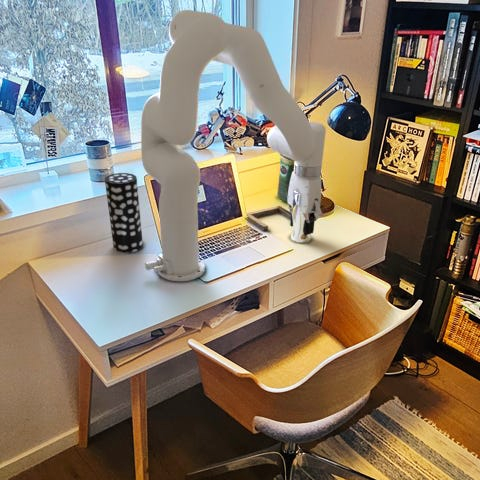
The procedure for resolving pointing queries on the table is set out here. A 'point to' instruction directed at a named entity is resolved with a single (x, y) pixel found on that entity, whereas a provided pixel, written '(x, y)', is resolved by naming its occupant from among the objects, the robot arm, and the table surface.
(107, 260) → the table surface
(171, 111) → the robot arm
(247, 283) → the table surface
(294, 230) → the beer glass
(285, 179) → the coffee jar
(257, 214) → the walnut bay
